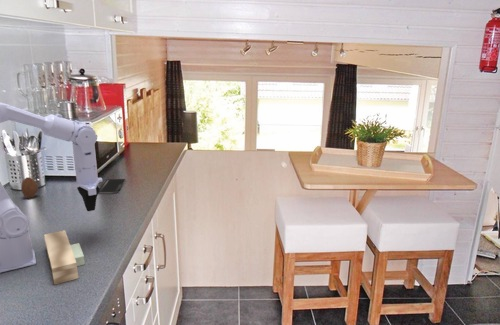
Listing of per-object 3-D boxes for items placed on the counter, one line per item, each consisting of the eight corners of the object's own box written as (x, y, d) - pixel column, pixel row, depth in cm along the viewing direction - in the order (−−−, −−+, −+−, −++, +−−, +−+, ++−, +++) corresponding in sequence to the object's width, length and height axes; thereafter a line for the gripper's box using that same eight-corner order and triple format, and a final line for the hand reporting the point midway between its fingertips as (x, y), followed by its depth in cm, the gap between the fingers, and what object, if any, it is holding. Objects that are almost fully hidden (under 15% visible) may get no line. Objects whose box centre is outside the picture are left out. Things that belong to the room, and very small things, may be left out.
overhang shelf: (54, 284, 97) (52, 268, 95) (46, 248, 113) (43, 234, 112) (78, 278, 100) (76, 262, 98) (66, 244, 116) (65, 230, 114)
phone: (96, 192, 153) (107, 178, 167) (96, 194, 153) (107, 181, 167) (117, 192, 153) (126, 178, 168) (117, 194, 154) (126, 181, 168)
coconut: (20, 198, 147) (16, 178, 145) (32, 194, 152) (29, 174, 149) (29, 201, 145) (26, 180, 143) (41, 196, 149) (38, 176, 147)
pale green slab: (56, 271, 102) (54, 263, 101) (52, 257, 109) (51, 249, 108) (84, 264, 106) (83, 256, 105) (79, 251, 112) (78, 243, 111)
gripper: (105, 171, 109) (110, 216, 113) (95, 157, 121) (100, 199, 125) (78, 175, 105) (83, 221, 109) (70, 160, 117) (75, 203, 121)
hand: (90, 209), depth 117 cm, fingers closed
